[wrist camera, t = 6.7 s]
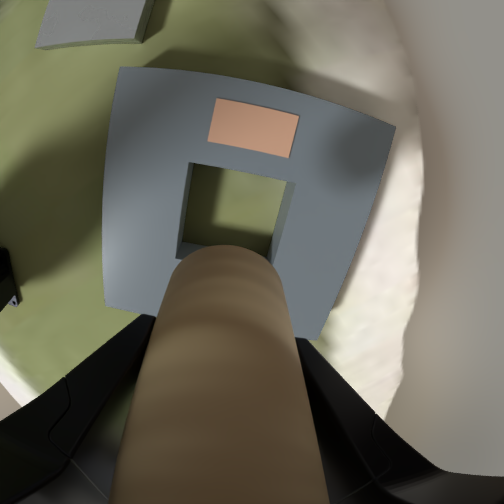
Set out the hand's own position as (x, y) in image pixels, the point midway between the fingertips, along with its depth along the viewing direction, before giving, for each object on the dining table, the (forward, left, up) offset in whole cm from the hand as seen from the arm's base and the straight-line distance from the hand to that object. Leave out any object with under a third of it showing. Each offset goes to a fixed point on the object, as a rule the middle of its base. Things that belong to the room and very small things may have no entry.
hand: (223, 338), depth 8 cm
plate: (-12, +14, -12) cm, 22 cm away
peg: (0, 0, -2) cm, 2 cm away
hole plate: (0, 0, -12) cm, 12 cm away
